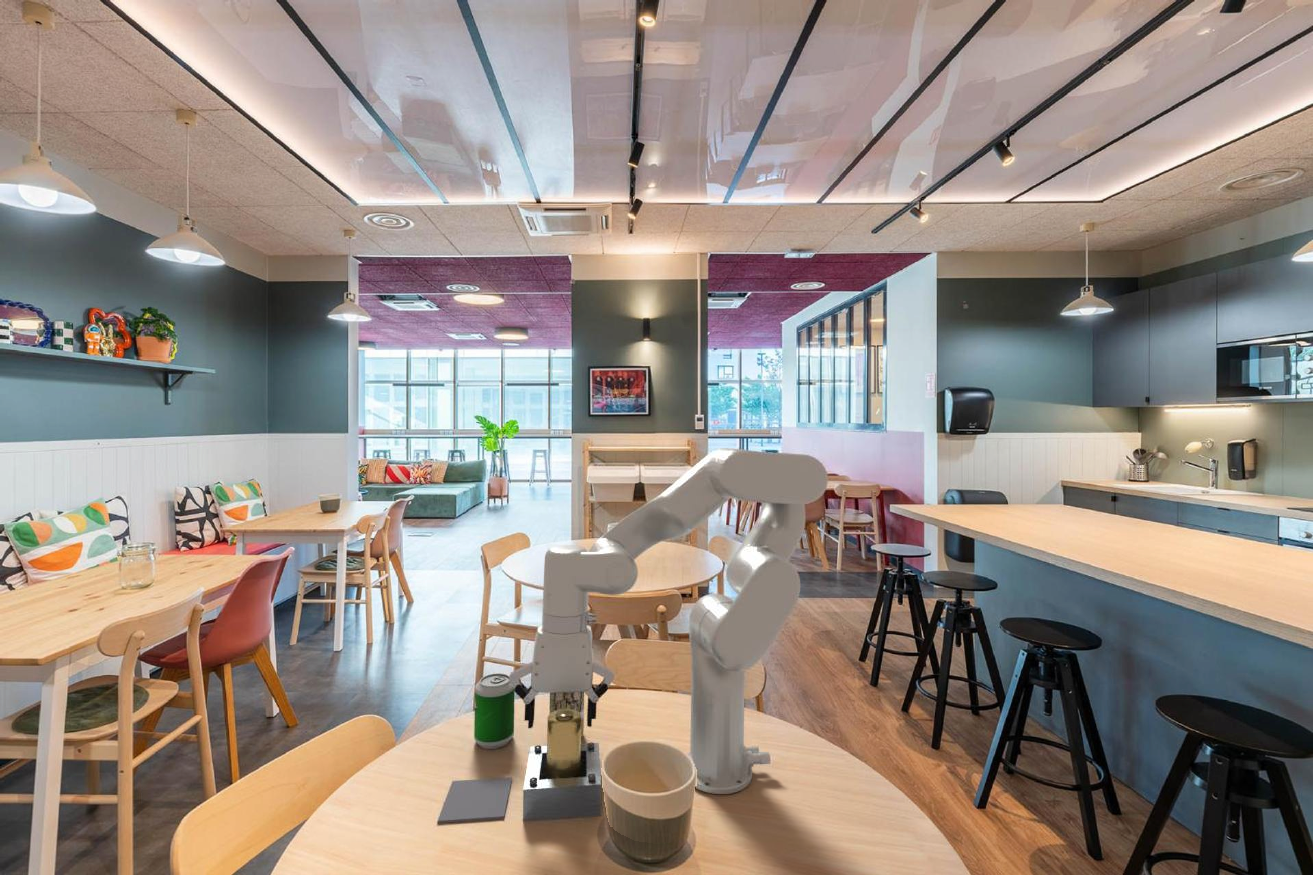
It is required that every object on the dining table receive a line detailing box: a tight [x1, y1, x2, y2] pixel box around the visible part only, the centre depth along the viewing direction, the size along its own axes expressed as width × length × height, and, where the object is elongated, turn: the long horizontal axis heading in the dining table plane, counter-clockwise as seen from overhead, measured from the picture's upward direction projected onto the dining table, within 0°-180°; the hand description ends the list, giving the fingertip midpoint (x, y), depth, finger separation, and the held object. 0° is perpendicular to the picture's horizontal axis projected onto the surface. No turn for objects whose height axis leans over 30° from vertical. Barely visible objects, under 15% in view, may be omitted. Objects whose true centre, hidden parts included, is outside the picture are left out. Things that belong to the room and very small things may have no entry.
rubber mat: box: [436, 776, 513, 824], centre depth 92 cm, size 10×10×1 cm
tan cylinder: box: [546, 709, 582, 779], centre depth 93 cm, size 6×6×13 cm
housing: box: [522, 741, 602, 822], centre depth 93 cm, size 12×12×6 cm
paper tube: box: [548, 692, 585, 738], centre depth 111 cm, size 7×7×25 cm
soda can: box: [473, 672, 516, 750], centre depth 109 cm, size 8×8×12 cm
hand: (560, 723), depth 93 cm, fingers open, 9 cm apart
